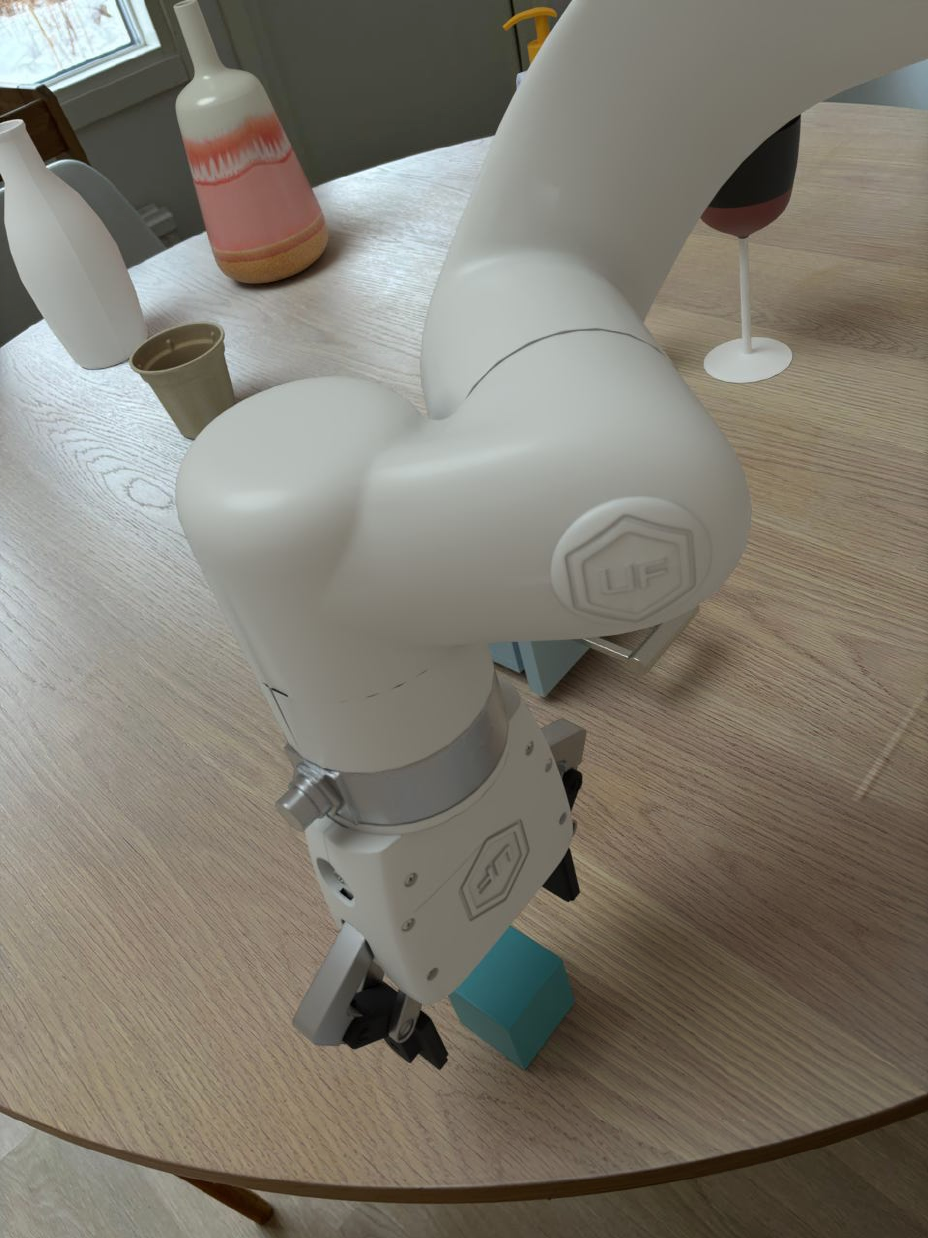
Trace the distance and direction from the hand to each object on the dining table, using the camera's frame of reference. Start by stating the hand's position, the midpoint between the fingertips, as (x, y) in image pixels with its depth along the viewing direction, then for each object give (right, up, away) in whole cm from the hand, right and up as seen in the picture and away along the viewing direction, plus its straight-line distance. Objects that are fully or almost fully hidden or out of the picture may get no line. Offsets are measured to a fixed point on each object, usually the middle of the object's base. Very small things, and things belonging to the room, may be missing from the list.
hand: (488, 961), depth 47 cm
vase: (-24, +60, +80) cm, 103 cm away
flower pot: (-27, +36, +55) cm, 71 cm away
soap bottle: (+11, +60, +69) cm, 92 cm away
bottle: (-43, +48, +73) cm, 97 cm away
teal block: (+2, -4, +4) cm, 6 cm away
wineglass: (+24, +39, +42) cm, 62 cm away
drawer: (+5, +16, +22) cm, 27 cm away
